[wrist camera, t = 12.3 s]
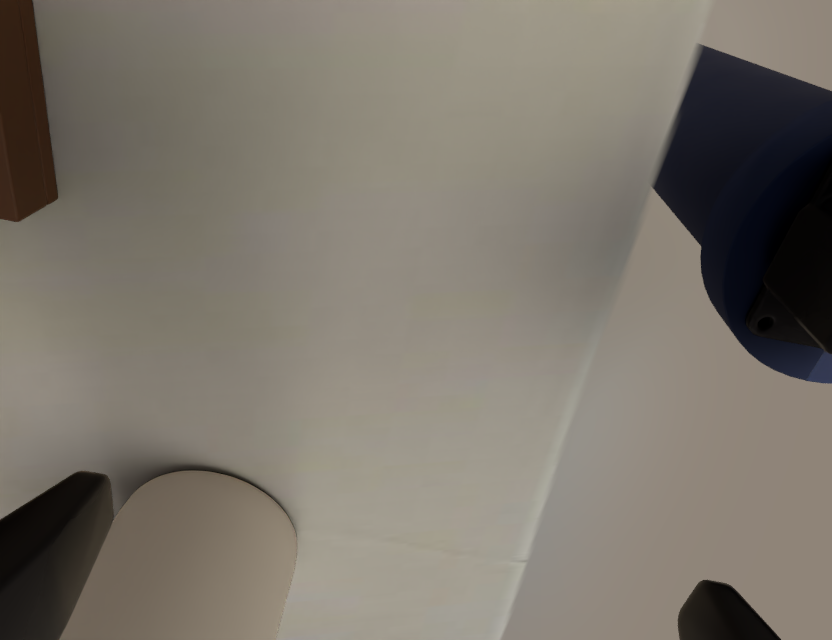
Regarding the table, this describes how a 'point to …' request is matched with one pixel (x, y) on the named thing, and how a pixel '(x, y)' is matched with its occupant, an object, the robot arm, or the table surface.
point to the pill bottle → (190, 564)
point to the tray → (22, 117)
